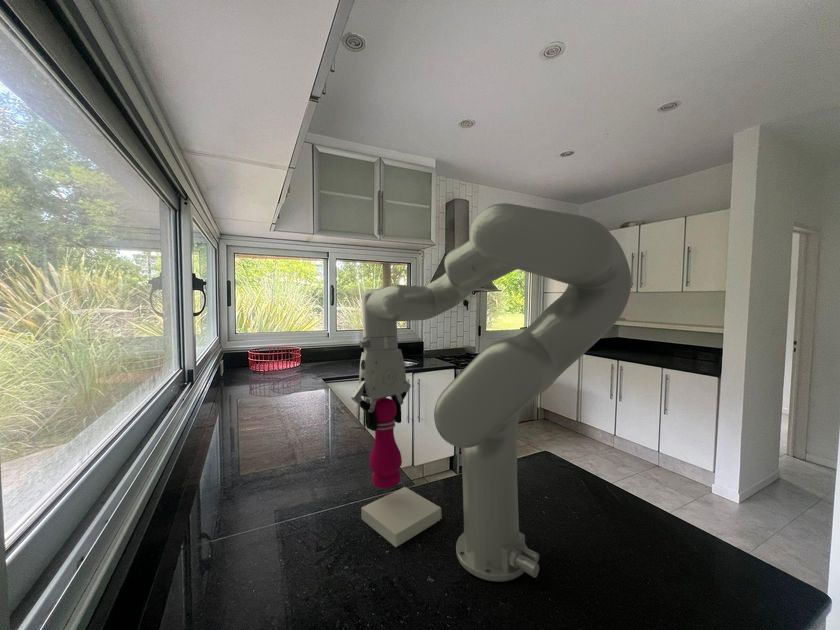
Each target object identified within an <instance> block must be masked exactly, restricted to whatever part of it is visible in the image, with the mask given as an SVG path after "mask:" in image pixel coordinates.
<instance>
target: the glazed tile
mask: <svg viewBox="0 0 840 630" xmlns="http://www.w3.org/2000/svg"><path fill="white" fill-rule="evenodd" d="M360 510H361V511H360V513H361V517H360V518H361V520H362V521H363V522H364V523H366V524H367V525H368V526H369V527H371V529H373V530H375V532H376V533H378V534H379V535H380V536H382V537H383V539H385V540H387V542H389V543H390V544H391V545H392V546H393V547H395V548H398V547H399V546H401V545H402V544H404V543H405V542H407V541H409V540H410V539H412V538H414V537H415V536H417V535H418V534H420V533H422V532H423V531H425V530H427V529H428V528H430V527H431V526H433V525H435V524H436V523H438V522H439V521H441V520H442V507H441V506H439V505H436V504H435V503H434V502H431V501H430V500H429V499H427V498H424V496H421V495H420V494H419V493H417V492H414V491H413V490H411V489H409V488H408V487H406V486H403V487H402V488H400V489H398V490H395V491H393V492H391V493H389V494H387V495H385V496H383V497H381V498H379V499H377V500H374V501H372V502H369V503H368V504H365V505H364V506H362V507H360ZM440 519H441V520H440ZM437 521H438V522H437Z"/></svg>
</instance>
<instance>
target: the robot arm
mask: <svg viewBox="0 0 840 630" xmlns="http://www.w3.org/2000/svg"><path fill="white" fill-rule="evenodd" d="M444 270H445V273H443V274H442V275H441V276H440V277H437V279H435V280H433V281H431V282H430V283H428V284H426V285H423V286H418V285H411V284H409V285H407V284H406V285H405V284H393V285H389V286H387V287H383V288H372V289H366V290H365V291H363V293H362V295H361V305H362V306H361V307H362V308H361V309H362V312H361V313H362V329H363V330H362V332H363V333H362V335H363V338H362V341H359V343H358V345H359V347H360V348H363V351H362V352H361V356H360V362H359V373H358V374H359V375H358V378H359V380H358V384H359V385H358V386H357V388H356V389H355V391H354V392H353V394H352V395H351V396H350V399H351V400H352V401H353V402H354V403H355V404H357V405H358V407H360V408H361V409H362V410H363V411H364V419H365V421H364V422H365V426H366V429H368V430H370V431H373V432H375V430H377V415H376V412H375V411H374V408H375V404H376V400H377V399H381V398H385V397H386V398H390V399H391V400H393V401H394V402H395V404H396V407H397V413H396V415H395V417H394V418H393V419H395V423H396V424H401V423H402V405H403V404H404V400H405V398H406V396H407V394H408V392H409V390H410V388H411V386H412V385H411V383H410V382H408V380H407V376H406V375H407V374H406V373H407V372H406V367H405V361H404V356H403V353H402V349H401V348H398V347H399V346H398V344H399V343H398V342H399V341H398V322H409V321H411V322H412V321H413V322H414V321H425V320H430V319H433V318H435V317H436V316H437V317H438V316H439V315H441V314H444V313H445V312H447V311H449V310H451V309H452V308H455V307H456V306H458V305H459V304H460V303H462V302H463V301H464V300H465V299H466V298H468V296H469V295H470V294H471V293H472V292H475V291H477V290H479V289H481V288H482V287H484V286H487V285H488V284H490V283H492V282H494V281H496V280H499V279H500V278H502V277H504V276H507V275H508V274H510V273H512V272H514V271H515V270H519V271H523V272H527V273H528V274H529V273H530V274H533V275H537V276H540V277H544V278H547V279H549V280H554V281H557V282H559V283H564V284H567V287H566V289H565V290H564V292H563V293H562V294H561V295H560V296H559V297H558V298H557V299H556V300H554V301H553V302H552V303H551V304H550V305H548V306H547V308H545V309H544V310H543V311H542V313H541V314H540V315H539V316H538V317H537V318H536V319H535V320H534V321H533V322H532V323H531V324H530V325H529V326H528V327H526V328H525V329H524V330H523V331H522V332H520V333H519V334H517V335H513V336H510V337H506V338H503V339H499V340H496V341H494V342H493V343H490V345H488V346H486V347H485V348H483V350H481V351H480V352H479V353H478V354H477V355H476V356H475V357H474V358H473V359H472V360H471V361H470V362H469V363H468V365H467V366H465V368H463V370H461V372H460V373H459V374H458V375H457V376H456V377H455V378H454V379H453V380H452V381H451V382H450V383H449V385H448V386H446V388H445V389H444V390H443V391H442V392H441V394H440V395H439V397H437V401H436V403H435V406H434V411H433V420H434V425H435V427H436V428H435V429H436V430H437V433H439V436H440V437H441V438H442V439H443V440H444V441H445V442H446V443H448V444H450V445H452V446H454V447H456V448H460V449H462V450H461V463H462V465H461V472H462V475H461V476H462V499H463V500H462V501H463V503H462V504H463V505H462V506H463V532H462V533H461V534H460V536H459V537H458V539H457V541H456V543H455V551H456V552H455V554H456V557H457V559H458V562H459V564H460V565H461V566H462V567H463V568H464V569H465V570H466V571H467V572H468V573H470V574H472V575H473V576H475V577H477V578H479V579H482V580H486V581H488V582H489V581H490V582H508V581H511V580H514V579H516V578H519V577H520V576H522V575H523V574H524V573H526V574H527V575H530V576H531V577H533V578H537V577H538V575H539V572H540V564H539V563H538V562H539V560H540V554H539V553H538V552H536V551H534V550H532V549H530V548H528V546H527V545H526V537H525V536H526V535H525V534H524V533H523V532H520V525H519V522H520V521H519V499H518V496H519V495H518V494H519V493H518V492H519V491H518V459H517V457H518V454H517V453H518V452H517V451H518V450H517V449H518V448H517V446H518V445H517V443H518V442H517V441H518V432H519V419H520V411H521V410H522V409H524V407H526V406H527V405H528V404H529V403H531V402H532V401H534V399H536V398H537V397H538V396H540V395H541V394H543V393H544V392H545V391H547V390H548V389H549V388H550V387H551V386H552V385H553V383H555V381H556V380H557V379H559V377H560V376H561V375H562V374H563V373H564V372H565V371H566V370H567V369H569V368H570V367H571V366H572V365H573V364H574V363H575V362H576V361H578V360H579V359H580V358H581V357H583V355H584V354H585V353H587V352H588V351H589V350H590V349H591V348H592V347H593V346H594V345H595V344H596V343H597V342H598V341H599V340H600V339H602V338H603V337H604V336H605V335H606V334H607V333H608V332H609V331H610V330H611V329H612V327H613V326H614V325H615V324H616V323H617V322H618V321H619V319H620V317H622V315H623V313H624V311H625V309H626V307H627V304H628V303H629V299H630V295H631V292H632V291H631V290H632V275H631V268H630V266H629V262H628V259H627V256H626V254H625V252H624V250H623V248H622V246H621V244H620V243H619V241H618V240H617V238H616V237H615V236H614V235H613V234H612V232H610V230H609V228H607V227H606V226H605V225H603V224H602V223H601V222H599V221H597V220H596V219H593V218H590V217H587V216H584V215H579V214H573V213H569V212H560V211H554V210H548V209H543V208H536V207H533V206H532V207H531V206H525V205H519V204H515V203H507V202H506V203H505V202H504V203H495V204H491V205H489V206H488V207H486V208H485V209H482V211H480V212H479V213H478V214H477V215H476V217H475V218H474V219H473V221H472V223H471V226H470V229H469V239H468V240H467V241H465V242H463V243H462V244H460V245H459V246H457V247H455V248H453V249H452V250H450V251H449V252H448V253H447V254H446V255H445V257H444ZM362 397H363V398H364V399H363V398H362Z"/></svg>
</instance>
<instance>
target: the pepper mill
mask: <svg viewBox="0 0 840 630" xmlns="http://www.w3.org/2000/svg"><path fill="white" fill-rule="evenodd" d="M374 411H375V412H376V415H377V430H375V431H374V433H375V434H374V443H373V447H372V449H371V452H370V455H369V461H368V462H369V463H368V465H369V468H370V470H371V471H372V474H371V479H372V481H371V482H372V485H373V486H374V487H375V488H380V489H389V488H393V487H394V486H397V485H398V484H399V483H400V482H401V471H400V468H401V466H402V463H403V460H402V453H401V451H400V449H399V447H398V444H397V442H396V439H395V434H394V432H395V431H394V428H395V427H396V422H395V419H393V418H394V417H395V415H396V413H397V407H396V404H395V402H394V401H393V400H391V398H390V397H385V398H381V399H377V400H376V404H375V408H374Z"/></svg>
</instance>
